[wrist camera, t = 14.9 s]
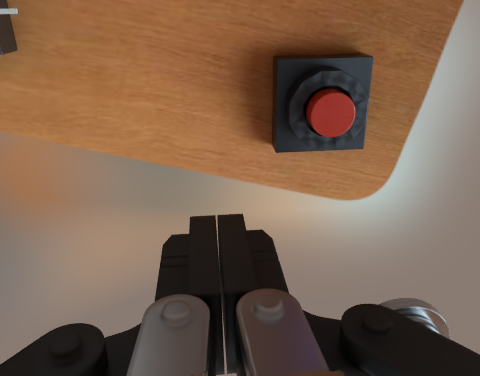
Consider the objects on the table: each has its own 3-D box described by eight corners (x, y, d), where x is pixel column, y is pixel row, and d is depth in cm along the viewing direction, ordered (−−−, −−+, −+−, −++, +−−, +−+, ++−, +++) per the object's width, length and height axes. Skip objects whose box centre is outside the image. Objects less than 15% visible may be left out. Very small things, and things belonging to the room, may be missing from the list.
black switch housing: (355, 141, 40) (371, 155, 37) (272, 145, 40) (279, 159, 36) (364, 53, 37) (382, 59, 33) (273, 56, 36) (281, 62, 33)
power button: (346, 130, 36) (353, 136, 34) (304, 132, 36) (309, 138, 34) (350, 87, 35) (357, 91, 33) (306, 89, 34) (312, 93, 33)
